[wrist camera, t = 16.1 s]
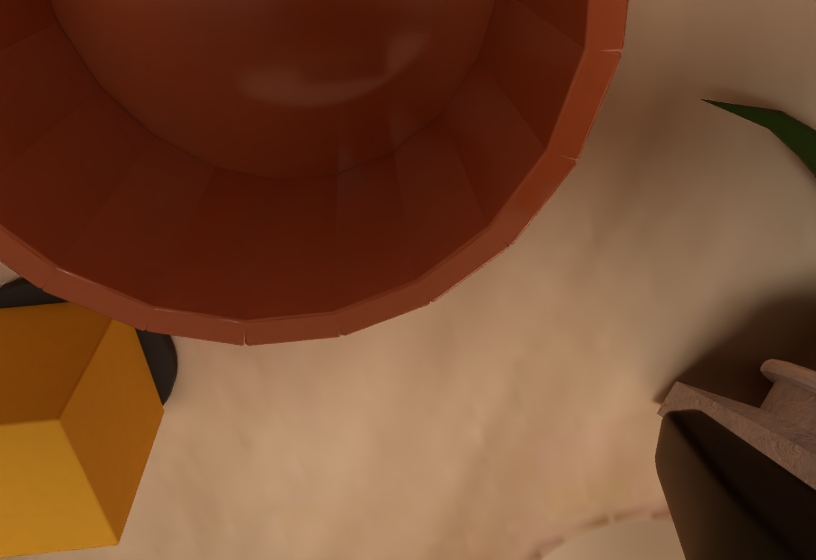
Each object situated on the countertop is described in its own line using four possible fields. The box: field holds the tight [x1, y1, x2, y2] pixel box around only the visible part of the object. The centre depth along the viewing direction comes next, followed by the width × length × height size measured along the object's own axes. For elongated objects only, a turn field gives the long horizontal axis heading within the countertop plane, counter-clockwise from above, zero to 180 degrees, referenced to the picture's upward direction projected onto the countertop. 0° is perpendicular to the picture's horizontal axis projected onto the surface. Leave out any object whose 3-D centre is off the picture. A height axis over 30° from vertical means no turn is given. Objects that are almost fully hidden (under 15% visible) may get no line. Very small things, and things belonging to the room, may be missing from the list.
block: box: [0, 302, 164, 558], centre depth 17 cm, size 4×4×5 cm
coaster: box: [0, 278, 177, 406], centre depth 20 cm, size 6×6×1 cm
